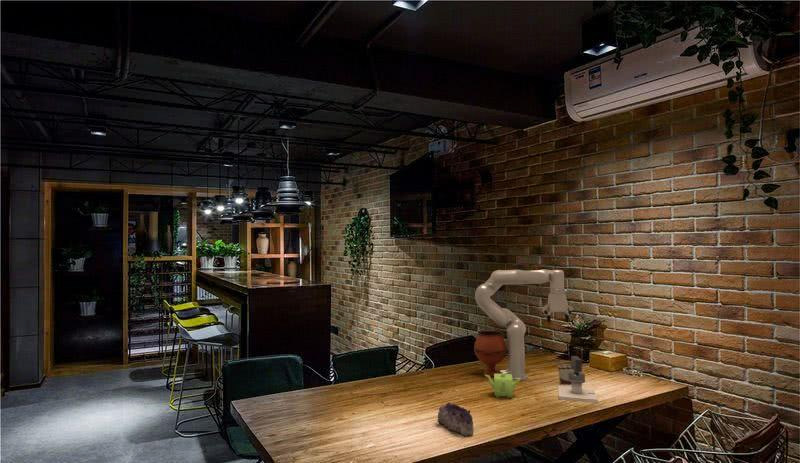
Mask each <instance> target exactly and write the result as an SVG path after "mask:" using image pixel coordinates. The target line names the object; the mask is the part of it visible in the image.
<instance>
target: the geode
mask: <svg viewBox="0 0 800 463" xmlns="http://www.w3.org/2000/svg"><path fill="white" fill-rule="evenodd" d="M473 420H474V419H473V416H472V414H471V410H467V409H466V408H464V407H463V406H462V407H461V406H460V405H458V404H456V403H450V402H447V403H446V404H445V405H442V406H441V405H440V407H439V408H438V412H437V422H438V423H439V424H442V425H444V428H446V429H447V430H448V431H450V432H454V433H455V432H456V433H459V434H460V435H461V436H462V437H468V438H469V437H473V436H474V422H473Z"/></svg>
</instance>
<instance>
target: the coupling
mask: <svg viewBox="0 0 800 463" xmlns="http://www.w3.org/2000/svg"><path fill="white" fill-rule="evenodd" d="M582 363H583V359H581V358H580V357H579V356H577V355H571V356H570V364H571V368H572V369H573V370H574V372H569V373H568V381H570V382H572V383H582V384H584V383H586V374H585V373H584V372H583V364H582Z"/></svg>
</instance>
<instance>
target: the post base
mask: <svg viewBox="0 0 800 463" xmlns="http://www.w3.org/2000/svg"><path fill="white" fill-rule="evenodd" d="M557 392H558V394H557V395H558V400H562V401H563V400H564V401H571V400H572V401H573V402H583V403H595V404H598V403H599V400H598V396H597V394H596V391H595V388H588V387H583V383H572V385H571V386H566V385H557Z"/></svg>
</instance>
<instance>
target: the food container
mask: <svg viewBox="0 0 800 463" xmlns="http://www.w3.org/2000/svg"><path fill="white" fill-rule="evenodd" d="M556 368H557V370H556V371H558V378H559V383H560V384H559V386H572V382H570V381H568V373H569V372H574V370H573V369H572V368H571V363H570V364H569V363H564V364H563V363H562V364H558V365H557V367H556Z"/></svg>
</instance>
